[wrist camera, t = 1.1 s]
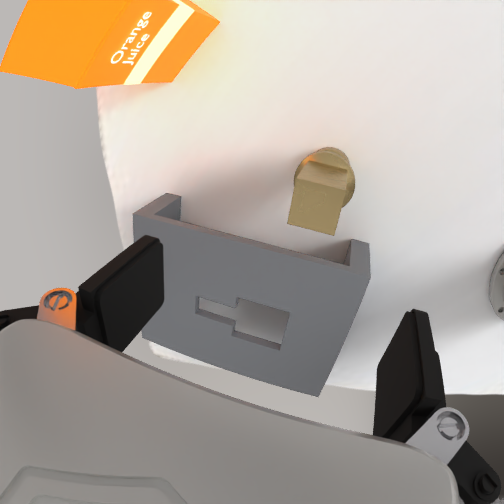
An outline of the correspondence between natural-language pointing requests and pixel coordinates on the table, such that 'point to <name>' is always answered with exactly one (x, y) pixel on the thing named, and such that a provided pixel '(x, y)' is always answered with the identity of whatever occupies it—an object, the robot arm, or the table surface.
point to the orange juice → (106, 41)
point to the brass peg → (321, 190)
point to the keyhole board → (251, 299)
